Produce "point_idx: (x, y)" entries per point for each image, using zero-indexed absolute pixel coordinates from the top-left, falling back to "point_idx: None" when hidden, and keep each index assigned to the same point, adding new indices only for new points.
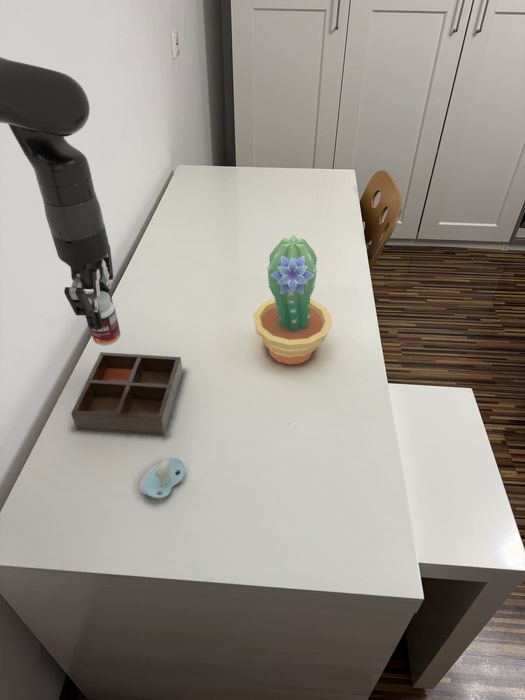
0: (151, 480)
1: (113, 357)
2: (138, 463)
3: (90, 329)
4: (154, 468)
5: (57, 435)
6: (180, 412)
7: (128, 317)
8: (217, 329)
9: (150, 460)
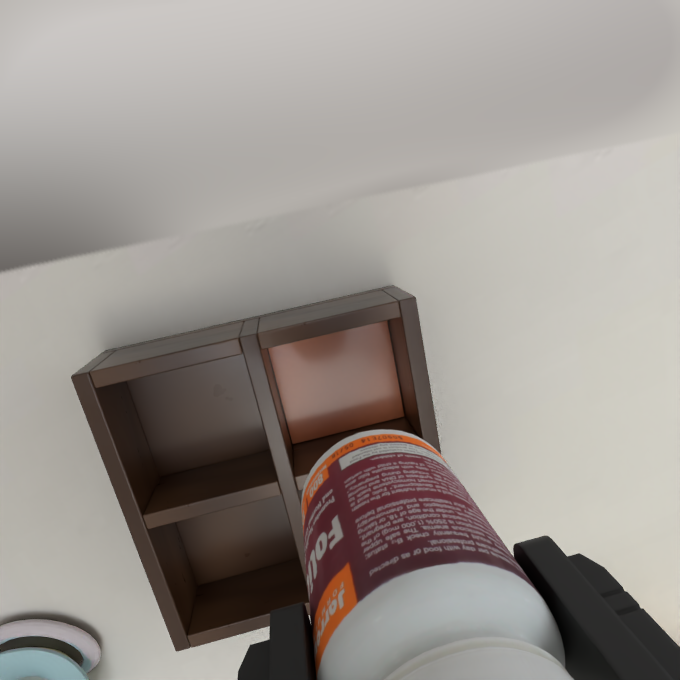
0: (16, 659)
1: (405, 353)
2: (72, 578)
3: (323, 521)
4: (62, 638)
5: (53, 304)
6: None
7: (666, 223)
8: (639, 531)
9: (96, 599)
